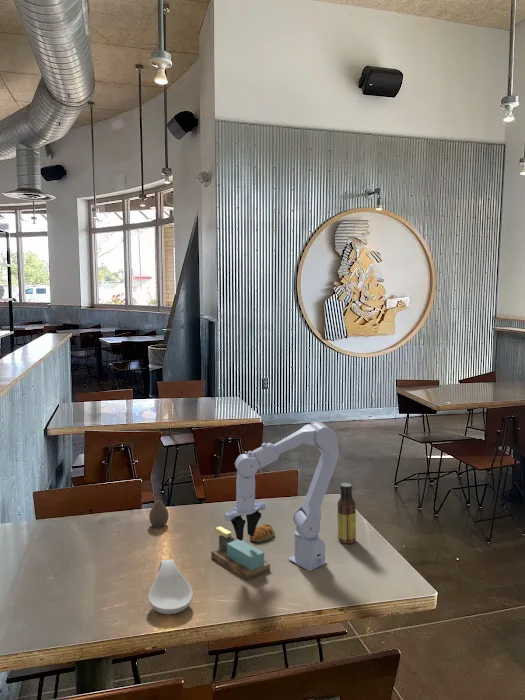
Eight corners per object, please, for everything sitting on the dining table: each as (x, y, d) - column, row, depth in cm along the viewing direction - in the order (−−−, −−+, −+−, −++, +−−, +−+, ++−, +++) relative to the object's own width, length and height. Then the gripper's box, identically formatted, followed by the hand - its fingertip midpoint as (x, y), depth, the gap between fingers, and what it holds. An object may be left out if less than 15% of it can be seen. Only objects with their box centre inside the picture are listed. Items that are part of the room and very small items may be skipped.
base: (270, 570, 159) (270, 550, 158) (247, 580, 153) (247, 559, 153) (233, 548, 173) (233, 530, 172) (211, 557, 167) (211, 538, 166)
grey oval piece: (145, 527, 188) (145, 504, 187) (155, 520, 195) (154, 497, 194) (163, 530, 186) (162, 506, 185) (171, 522, 193) (171, 499, 192)
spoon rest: (196, 617, 135) (196, 591, 134) (149, 624, 132) (149, 597, 131) (184, 572, 158) (184, 549, 157) (145, 577, 155) (144, 554, 154)
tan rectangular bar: (231, 536, 167) (231, 532, 167) (226, 538, 166) (226, 534, 166) (220, 530, 172) (220, 526, 172) (215, 532, 170) (215, 527, 170)
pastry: (260, 545, 175) (260, 534, 175) (244, 540, 179) (244, 529, 179) (276, 536, 183) (276, 525, 183) (260, 531, 187) (260, 520, 187)
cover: (264, 565, 158) (264, 552, 158) (251, 570, 155) (251, 557, 154) (239, 550, 167) (239, 538, 167) (226, 555, 164) (226, 543, 163)
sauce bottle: (355, 537, 182) (356, 481, 181) (356, 545, 176) (358, 488, 174) (336, 536, 183) (337, 480, 181) (337, 544, 177) (338, 487, 175)
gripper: (255, 485, 167) (254, 526, 168) (218, 496, 157) (218, 539, 158) (270, 491, 161) (269, 533, 163) (233, 502, 152) (232, 547, 153)
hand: (245, 537), depth 160 cm, fingers open, 4 cm apart
